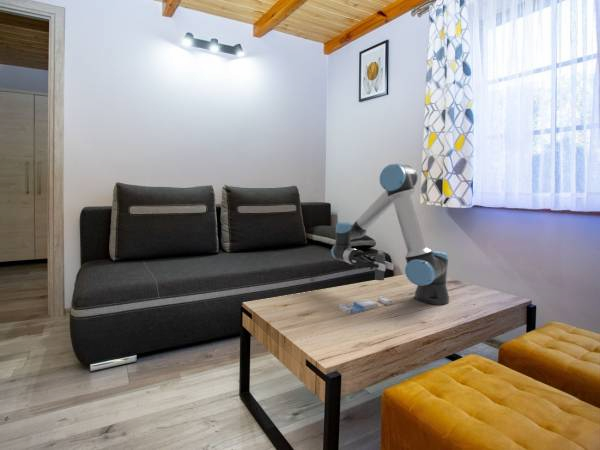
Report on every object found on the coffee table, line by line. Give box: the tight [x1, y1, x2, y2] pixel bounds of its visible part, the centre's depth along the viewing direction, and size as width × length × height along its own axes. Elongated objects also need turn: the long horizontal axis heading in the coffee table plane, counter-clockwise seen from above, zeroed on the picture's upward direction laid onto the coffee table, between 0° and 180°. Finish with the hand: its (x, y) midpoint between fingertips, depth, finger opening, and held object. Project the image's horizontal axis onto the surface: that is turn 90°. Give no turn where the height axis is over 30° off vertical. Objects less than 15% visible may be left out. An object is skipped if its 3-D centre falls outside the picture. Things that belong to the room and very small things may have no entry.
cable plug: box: [374, 249, 386, 281], centre depth 153 cm, size 4×4×13 cm
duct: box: [338, 295, 393, 314], centre depth 152 cm, size 25×7×2 cm, turn 119°
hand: (388, 267), depth 148 cm, fingers closed on cable plug, 4 cm apart
